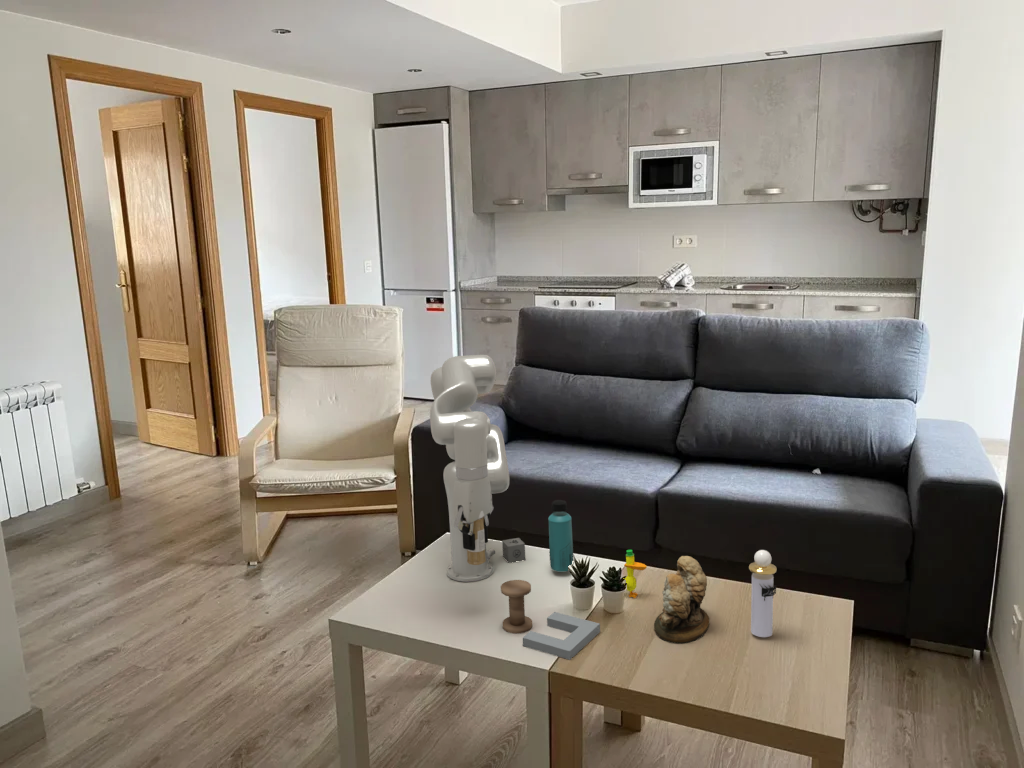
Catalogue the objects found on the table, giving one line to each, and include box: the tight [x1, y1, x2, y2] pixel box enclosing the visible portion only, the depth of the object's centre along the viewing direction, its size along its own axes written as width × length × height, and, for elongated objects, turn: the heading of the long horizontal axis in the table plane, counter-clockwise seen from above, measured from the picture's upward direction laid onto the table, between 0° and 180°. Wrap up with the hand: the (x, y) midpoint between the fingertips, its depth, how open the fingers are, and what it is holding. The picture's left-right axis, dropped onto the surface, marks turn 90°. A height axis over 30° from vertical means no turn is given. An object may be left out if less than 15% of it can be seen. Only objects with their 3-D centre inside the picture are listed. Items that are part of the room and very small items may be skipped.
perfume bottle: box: [748, 549, 777, 638], centre depth 174 cm, size 6×6×20 cm
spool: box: [500, 579, 534, 635], centre depth 184 cm, size 7×7×10 cm
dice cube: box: [501, 537, 526, 564], centre depth 223 cm, size 5×5×5 cm
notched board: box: [522, 611, 601, 661], centre depth 178 cm, size 14×12×2 cm
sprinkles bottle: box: [466, 511, 486, 565], centre depth 187 cm, size 5×5×13 cm
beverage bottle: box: [547, 499, 575, 573], centre depth 211 cm, size 6×7×20 cm
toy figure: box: [623, 549, 648, 599], centre depth 196 cm, size 7×4×12 cm, turn 63°
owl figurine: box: [653, 555, 710, 645], centre depth 180 cm, size 18×12×17 cm, turn 153°
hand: (475, 544), depth 188 cm, fingers closed on sprinkles bottle, 4 cm apart
